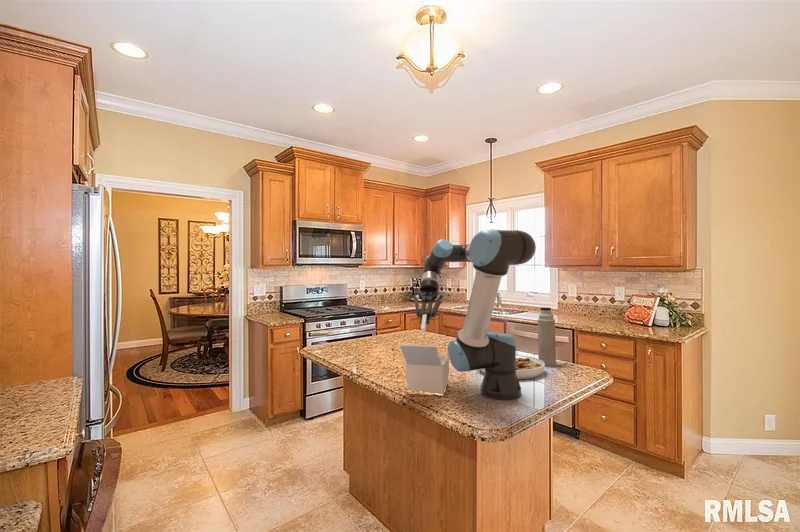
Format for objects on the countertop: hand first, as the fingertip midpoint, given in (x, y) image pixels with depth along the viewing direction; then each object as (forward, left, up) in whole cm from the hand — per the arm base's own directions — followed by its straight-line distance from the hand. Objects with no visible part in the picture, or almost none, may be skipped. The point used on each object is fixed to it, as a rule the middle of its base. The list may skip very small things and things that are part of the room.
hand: (423, 330), depth 147 cm
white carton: (+6, -3, -25) cm, 26 cm away
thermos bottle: (+23, -70, -25) cm, 78 cm away
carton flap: (-5, +3, -8) cm, 10 cm away
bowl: (+18, -48, -26) cm, 57 cm away
